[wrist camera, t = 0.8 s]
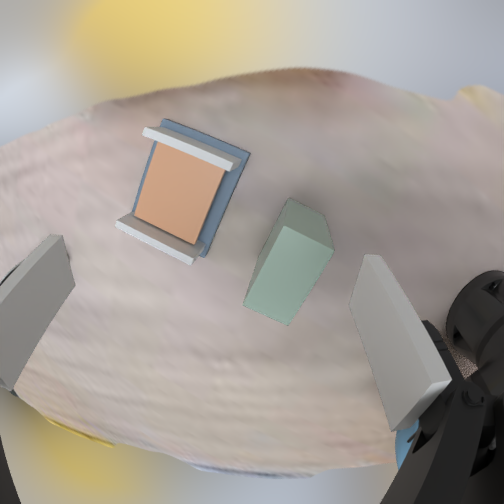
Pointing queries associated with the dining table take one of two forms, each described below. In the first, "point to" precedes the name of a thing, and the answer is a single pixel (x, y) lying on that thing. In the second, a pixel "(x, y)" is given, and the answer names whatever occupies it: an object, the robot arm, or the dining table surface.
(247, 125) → the dining table surface
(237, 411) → the dining table surface
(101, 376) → the dining table surface
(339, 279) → the dining table surface
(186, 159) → the snap seat
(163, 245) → the rail cradle
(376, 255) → the robot arm
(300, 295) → the block
